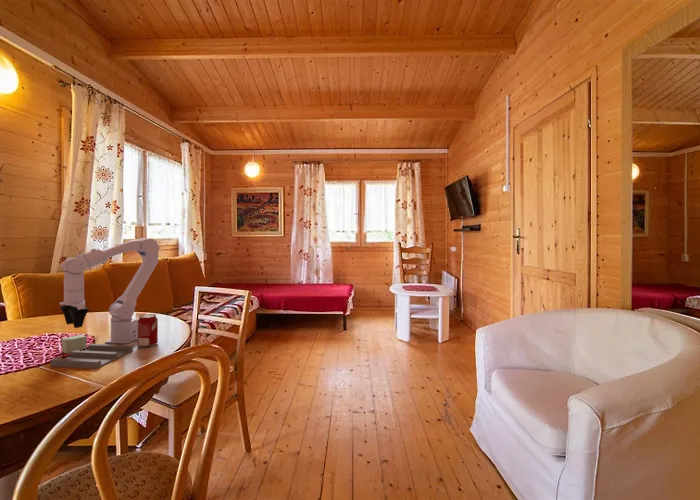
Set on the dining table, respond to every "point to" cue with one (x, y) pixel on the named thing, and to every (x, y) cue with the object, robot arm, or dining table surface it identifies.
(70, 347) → the plug block
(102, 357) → the ribbed grey tray
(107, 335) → the dining table surface
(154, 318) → the soda can
